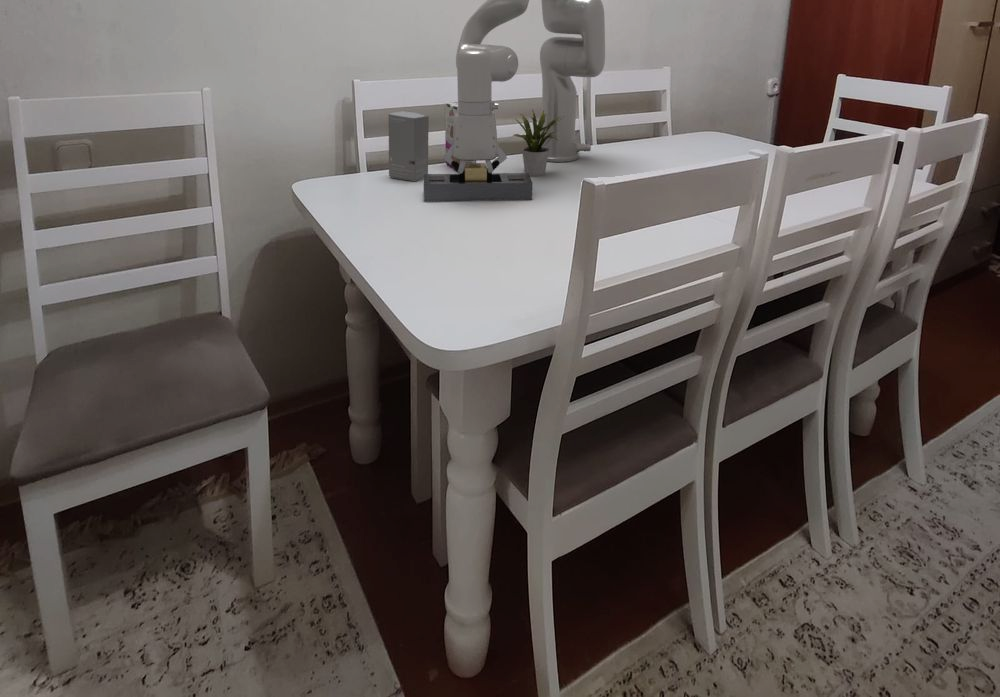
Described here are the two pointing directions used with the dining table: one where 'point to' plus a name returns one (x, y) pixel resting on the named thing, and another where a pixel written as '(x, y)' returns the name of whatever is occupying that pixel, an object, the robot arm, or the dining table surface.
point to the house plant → (536, 145)
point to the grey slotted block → (477, 188)
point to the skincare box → (408, 145)
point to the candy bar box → (451, 127)
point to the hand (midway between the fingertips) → (475, 187)
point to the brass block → (475, 172)
